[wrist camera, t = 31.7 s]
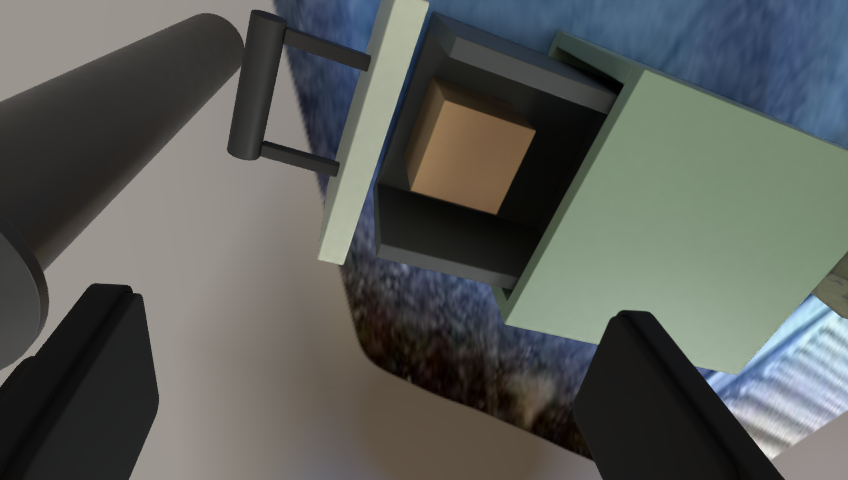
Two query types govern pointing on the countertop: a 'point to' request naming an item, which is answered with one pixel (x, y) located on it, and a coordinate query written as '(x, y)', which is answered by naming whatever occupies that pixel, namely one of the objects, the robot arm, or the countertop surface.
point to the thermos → (835, 288)
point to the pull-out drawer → (371, 115)
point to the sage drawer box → (685, 219)
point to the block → (466, 146)
